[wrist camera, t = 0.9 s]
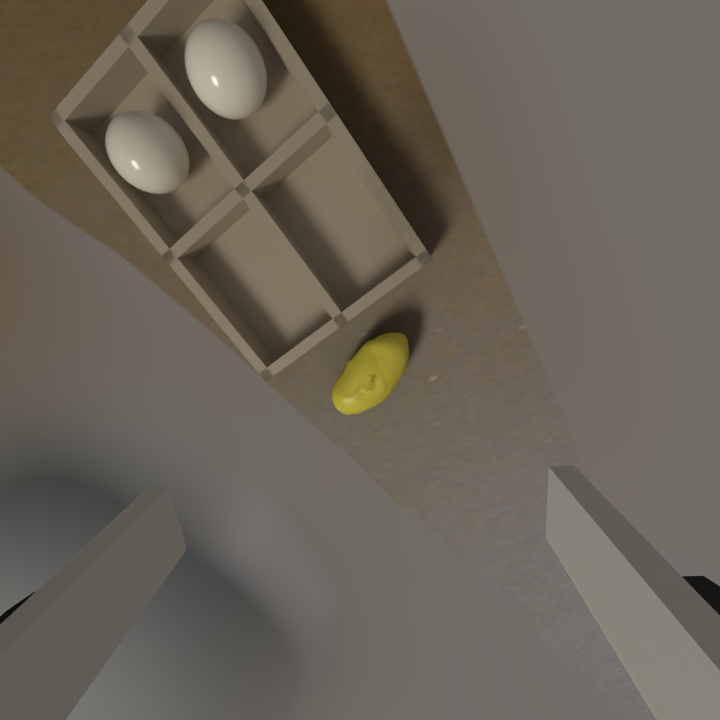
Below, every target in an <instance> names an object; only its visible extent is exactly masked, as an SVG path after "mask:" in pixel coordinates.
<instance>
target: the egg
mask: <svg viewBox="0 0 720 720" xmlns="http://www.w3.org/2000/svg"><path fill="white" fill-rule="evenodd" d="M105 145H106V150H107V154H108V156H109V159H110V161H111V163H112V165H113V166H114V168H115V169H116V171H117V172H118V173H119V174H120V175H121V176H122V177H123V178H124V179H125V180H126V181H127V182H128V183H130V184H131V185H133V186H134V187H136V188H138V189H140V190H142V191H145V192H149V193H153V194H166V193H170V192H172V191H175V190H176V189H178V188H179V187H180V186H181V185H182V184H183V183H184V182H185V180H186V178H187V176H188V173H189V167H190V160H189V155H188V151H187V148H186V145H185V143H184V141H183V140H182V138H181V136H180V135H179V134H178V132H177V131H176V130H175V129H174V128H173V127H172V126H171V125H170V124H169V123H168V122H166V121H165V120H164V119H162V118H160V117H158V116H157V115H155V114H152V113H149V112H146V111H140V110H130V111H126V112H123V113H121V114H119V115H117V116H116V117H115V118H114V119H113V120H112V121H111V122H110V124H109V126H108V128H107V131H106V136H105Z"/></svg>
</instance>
